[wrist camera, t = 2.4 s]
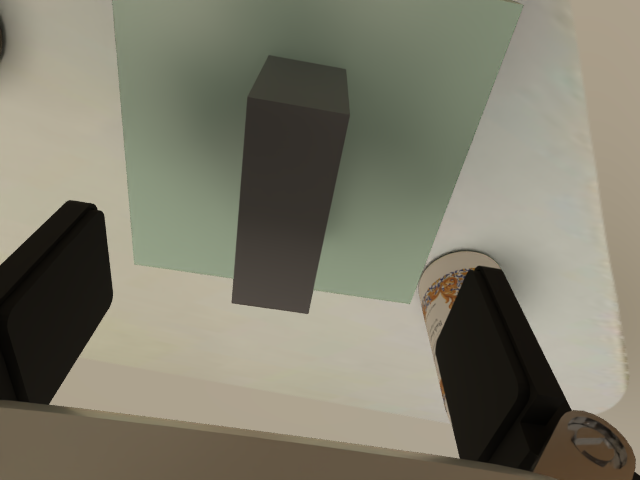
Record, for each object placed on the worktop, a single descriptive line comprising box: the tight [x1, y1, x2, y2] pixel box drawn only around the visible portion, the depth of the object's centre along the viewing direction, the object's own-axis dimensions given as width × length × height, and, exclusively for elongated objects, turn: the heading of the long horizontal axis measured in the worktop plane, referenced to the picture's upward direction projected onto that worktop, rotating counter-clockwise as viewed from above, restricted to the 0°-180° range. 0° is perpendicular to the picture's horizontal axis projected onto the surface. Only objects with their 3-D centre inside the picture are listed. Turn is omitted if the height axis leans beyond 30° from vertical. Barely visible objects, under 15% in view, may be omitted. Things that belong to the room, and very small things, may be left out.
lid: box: [112, 0, 524, 314], centre depth 16 cm, size 13×13×7 cm
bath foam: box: [419, 251, 501, 425], centre depth 30 cm, size 7×7×20 cm
